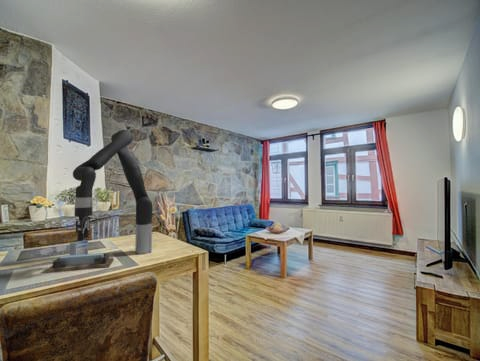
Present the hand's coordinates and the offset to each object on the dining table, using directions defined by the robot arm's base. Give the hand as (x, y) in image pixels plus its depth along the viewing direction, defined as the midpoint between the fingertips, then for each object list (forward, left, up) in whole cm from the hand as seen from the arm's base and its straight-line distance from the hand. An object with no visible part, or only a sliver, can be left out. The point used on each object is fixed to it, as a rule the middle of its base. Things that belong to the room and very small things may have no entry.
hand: (83, 239), depth 115 cm
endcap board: (0, 0, -14) cm, 14 cm away
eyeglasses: (+22, -28, -14) cm, 38 cm away
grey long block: (0, 0, -12) cm, 12 cm away
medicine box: (+7, -18, -14) cm, 24 cm away
